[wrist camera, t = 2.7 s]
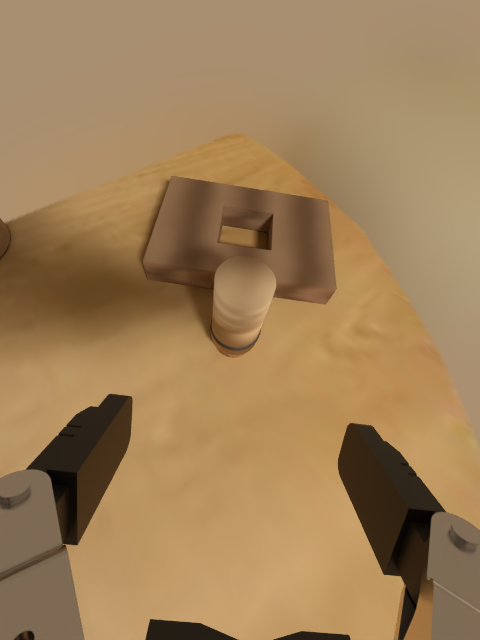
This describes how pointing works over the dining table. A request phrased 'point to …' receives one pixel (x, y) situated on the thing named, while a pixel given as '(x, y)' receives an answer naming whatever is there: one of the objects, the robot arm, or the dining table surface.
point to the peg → (240, 304)
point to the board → (248, 213)
